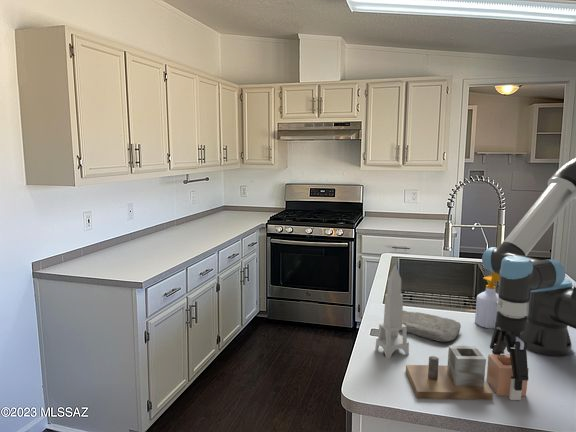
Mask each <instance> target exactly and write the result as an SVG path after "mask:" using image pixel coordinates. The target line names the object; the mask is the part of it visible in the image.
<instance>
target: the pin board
mask: <svg viewBox="0 0 576 432" xmlns="http://www.w3.org/2000/svg"><path fill="white" fill-rule="evenodd" d="M447 355H448V356H447V365H439V362H440V361H439V359H440V358H439V357H437V356H435V355H431V356H429V357H428V364H425V365H424V364H405V365H406V366H405V372H406V376H407V377H408V379H409V382H410V384H411V387H412V389H413V391H414V394H415V396H416V399H428V400H429V399H433V400H434V399H436V400H437V399H438V400H441V399H443V400H445V399H446V400H479V401H480V400H483V401H488V400H489V401H492V400H494V399H493V398H494V392H493V390H492V389H491V388H490V387H489V385H488V384H487V383H486V382H487V381H485V376H486V363H487V359H486V357H485V356H484V354H482V352H481V351H480V350H479V349H478V347H477V346H476V345H475V346H474V345H448V351H447Z"/></svg>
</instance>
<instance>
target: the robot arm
mask: <svg viewBox="0 0 576 432" xmlns="http://www.w3.org/2000/svg"><path fill="white" fill-rule="evenodd" d="M575 199H576V157H574V158H572V159H571V160H569V161H568V162H566V163H565V164H563V165H562V166H561V167H559V168H558V169H557V170H556V171H555V172H554V173H553V174H552V176H551V177H550V178H549V179H548V181H547V187H546V188H545V190H543V192H542V193H541V195H539V197H538V198H537V200H536V201H535V202H534V203H533V204H532V205H531V207H530V208H529V210H528V211H527V212H526V213H525V214H524V216H523V217H522V218H521V219H520V220H519V222H518V223H517V224H516V225H515V227H514V228H513V229H512V230H511V232H510V233H509V234H508V236H507V237H506V238H505V239H504V240H503V241H502V243H501V244H500V245H499V246H498V247H494V246H491V247H489V248H487V249H486V250H485V251H484V252H483V253H482V257H481V262H482V263H481V264H482V266H483V268H484V269H486V270H487V271H490V272H491V273H492V272H494V273H496V274H500V281H498V282H499V283H498V284H499V285H498V293H497V294H498V301H497V302H496V303H497V305H498V307H497V310H498V312H497V316H496V322H495V328H494V330H493V333H492V337H491V340H490V341H491V342H490V343H489V344H490V345H489V349H491V351H492V355H506V353H505V350H506V351H507V352H508V353H509V354H508V355H510V360H511V366H512V371H513V376H511V385H510V395H508V396H509V398H508V399H509V400H510V401H521V400H522V396H521V393H522V383H523V380H528V381H529V371H528V369H529V368H528V367H529V366H528V354H527V353H528V351H527V350H529V351H532V352H534V353H536V354H537V353H538V354H541V355H545V356H550V357H563V356H568V355H570V354H571V352H572V345H573V344H572V341H571V336H570V333H569V328H568V327H570V328H572V329H575V330H576V283H575V284H574V285H573V283H572V281H571V280H569V279H566V269H565V267H564V266H563V264H562V263H561V262H560V261H558V260H557V259H556V260H555V259H542V260H541V259H537V258H533V257H532V256H531V257H530V256H528V254H529V253H530V252H531V251H532V249H533V248H534V247H535V246H536V245H537V243H538V242H539V241H540V239H541V238H542V237H543V236H544V234H545V233H546V232H547V231H548V229H549V228H550V227H551V226H552V225H553V223H554V222H555V220H557V218H558V217H559V216H560V214H562V212H563V210H564V209H565V208H566V207H567V206H568V205H569V203H570V202H571V201H572V200H575Z"/></svg>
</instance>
